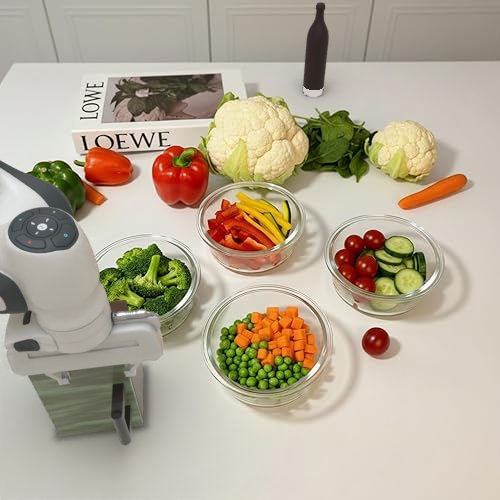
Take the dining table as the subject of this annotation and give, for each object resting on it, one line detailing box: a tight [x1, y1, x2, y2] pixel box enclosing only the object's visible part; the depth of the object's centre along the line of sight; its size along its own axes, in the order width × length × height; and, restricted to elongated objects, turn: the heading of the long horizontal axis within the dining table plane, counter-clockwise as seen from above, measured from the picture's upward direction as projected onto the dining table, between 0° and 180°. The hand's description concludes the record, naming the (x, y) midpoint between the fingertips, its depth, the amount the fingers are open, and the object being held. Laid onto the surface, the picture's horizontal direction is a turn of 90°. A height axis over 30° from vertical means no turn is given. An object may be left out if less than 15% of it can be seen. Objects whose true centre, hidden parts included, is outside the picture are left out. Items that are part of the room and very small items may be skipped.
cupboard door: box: [27, 364, 144, 446], centre depth 90 cm, size 7×15×22 cm, turn 98°
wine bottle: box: [302, 2, 330, 90], centre depth 176 cm, size 7×7×30 cm
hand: (98, 376), depth 79 cm, fingers open, 8 cm apart
